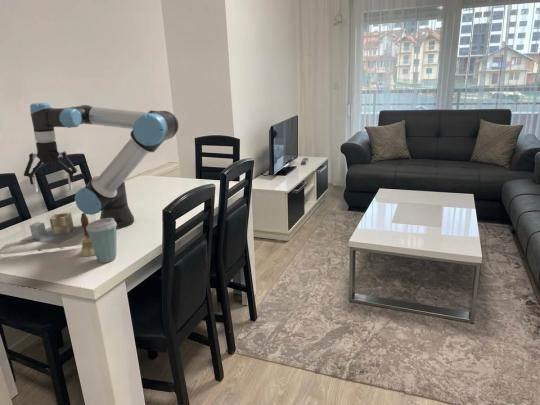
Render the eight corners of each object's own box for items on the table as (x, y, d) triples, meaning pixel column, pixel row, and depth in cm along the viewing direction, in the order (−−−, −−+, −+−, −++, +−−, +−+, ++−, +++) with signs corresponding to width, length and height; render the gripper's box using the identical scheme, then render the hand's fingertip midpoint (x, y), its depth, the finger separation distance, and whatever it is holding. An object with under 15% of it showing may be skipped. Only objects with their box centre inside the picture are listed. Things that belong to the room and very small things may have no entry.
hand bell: (75, 253, 165) (68, 214, 161) (96, 246, 171) (89, 208, 166) (84, 258, 159) (76, 218, 155) (105, 251, 165) (98, 213, 160)
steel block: (47, 240, 180) (44, 222, 178) (40, 243, 177) (36, 225, 174) (40, 239, 181) (37, 222, 179) (33, 243, 178) (29, 225, 175)
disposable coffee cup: (90, 267, 152) (83, 228, 147) (93, 255, 162) (86, 218, 157) (121, 262, 154) (115, 223, 150) (122, 251, 164) (116, 214, 160)
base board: (91, 230, 189) (90, 227, 188) (58, 247, 172) (58, 244, 171) (55, 228, 195) (55, 225, 195) (21, 243, 178) (20, 240, 177)
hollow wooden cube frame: (73, 227, 190) (70, 211, 188) (70, 232, 184) (66, 216, 182) (57, 228, 189) (53, 213, 187) (52, 234, 183) (49, 218, 181)
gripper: (79, 138, 182) (86, 186, 188) (14, 141, 176) (24, 190, 182) (76, 141, 175) (83, 190, 181) (9, 144, 169) (19, 195, 175)
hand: (53, 190), depth 182 cm, fingers open, 13 cm apart
